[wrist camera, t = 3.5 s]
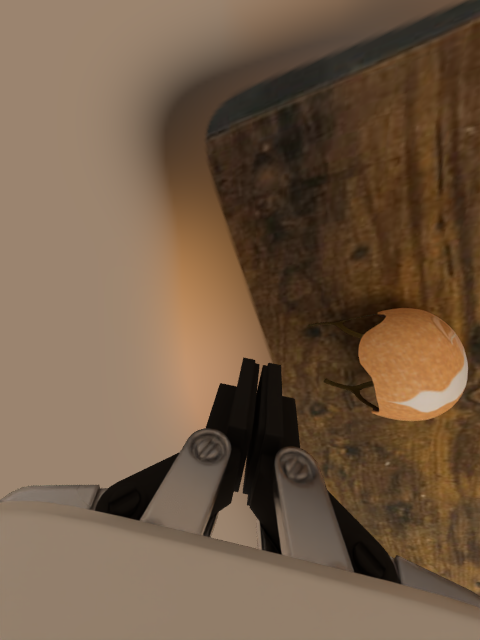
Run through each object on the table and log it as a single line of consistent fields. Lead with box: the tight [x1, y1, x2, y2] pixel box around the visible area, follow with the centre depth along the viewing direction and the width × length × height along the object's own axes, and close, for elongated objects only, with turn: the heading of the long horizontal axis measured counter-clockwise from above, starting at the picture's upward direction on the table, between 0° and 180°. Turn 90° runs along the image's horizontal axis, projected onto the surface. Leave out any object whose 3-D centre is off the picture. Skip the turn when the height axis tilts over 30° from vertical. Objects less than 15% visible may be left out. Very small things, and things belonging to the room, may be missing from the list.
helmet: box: [307, 308, 468, 421], centre depth 15 cm, size 6×7×8 cm
